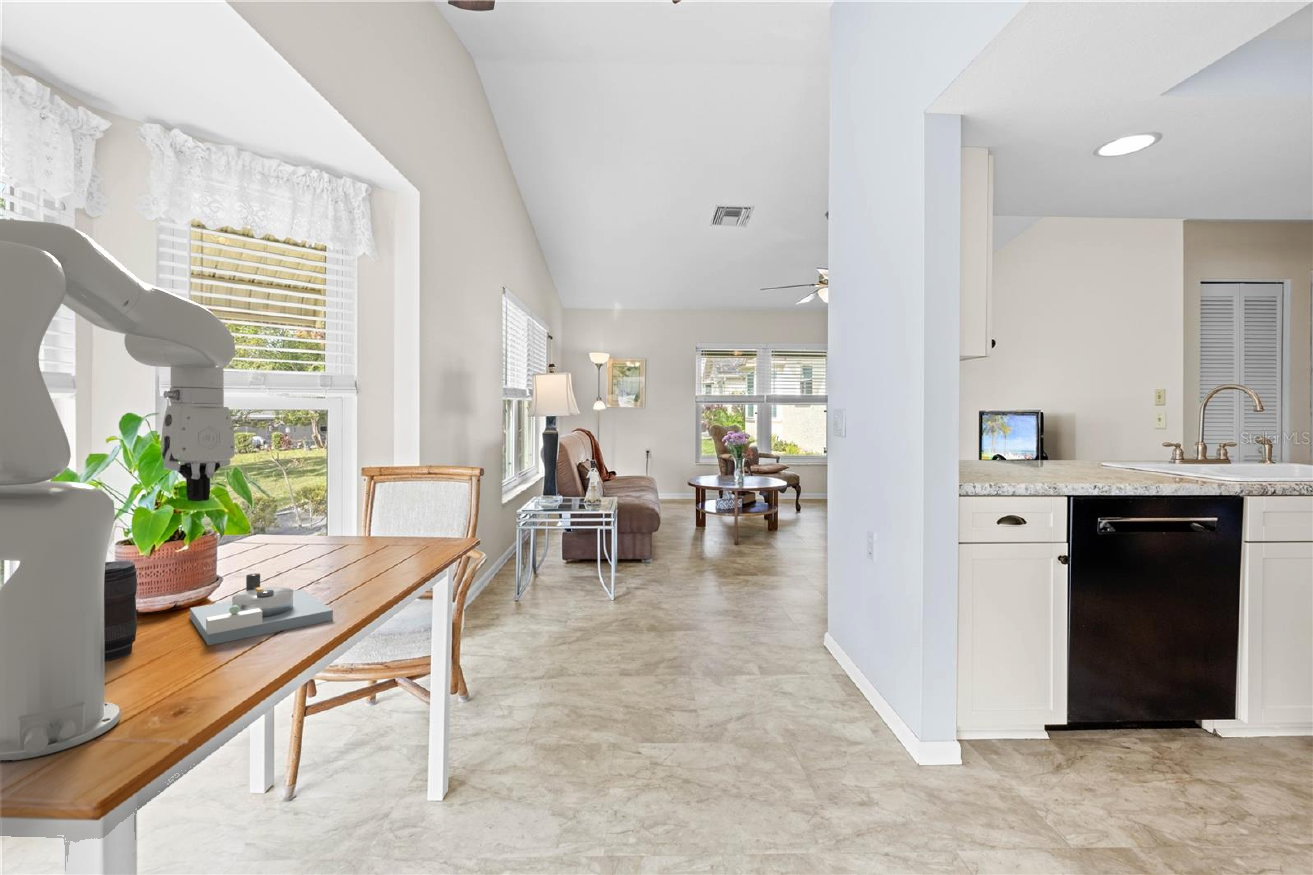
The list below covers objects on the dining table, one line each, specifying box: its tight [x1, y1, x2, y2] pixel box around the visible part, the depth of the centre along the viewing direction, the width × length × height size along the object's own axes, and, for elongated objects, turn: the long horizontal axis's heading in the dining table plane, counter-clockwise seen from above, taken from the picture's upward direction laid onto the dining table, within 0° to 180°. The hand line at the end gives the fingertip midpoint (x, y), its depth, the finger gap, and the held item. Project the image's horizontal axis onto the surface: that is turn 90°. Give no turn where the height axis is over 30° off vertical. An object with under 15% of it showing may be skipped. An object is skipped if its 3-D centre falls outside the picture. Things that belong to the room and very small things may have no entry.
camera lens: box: [104, 560, 138, 662], centre depth 98 cm, size 8×8×15 cm
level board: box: [189, 589, 334, 646], centre depth 118 cm, size 20×20×6 cm
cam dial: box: [231, 572, 294, 616], centre depth 118 cm, size 15×10×5 cm
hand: (198, 500), depth 107 cm, fingers closed
